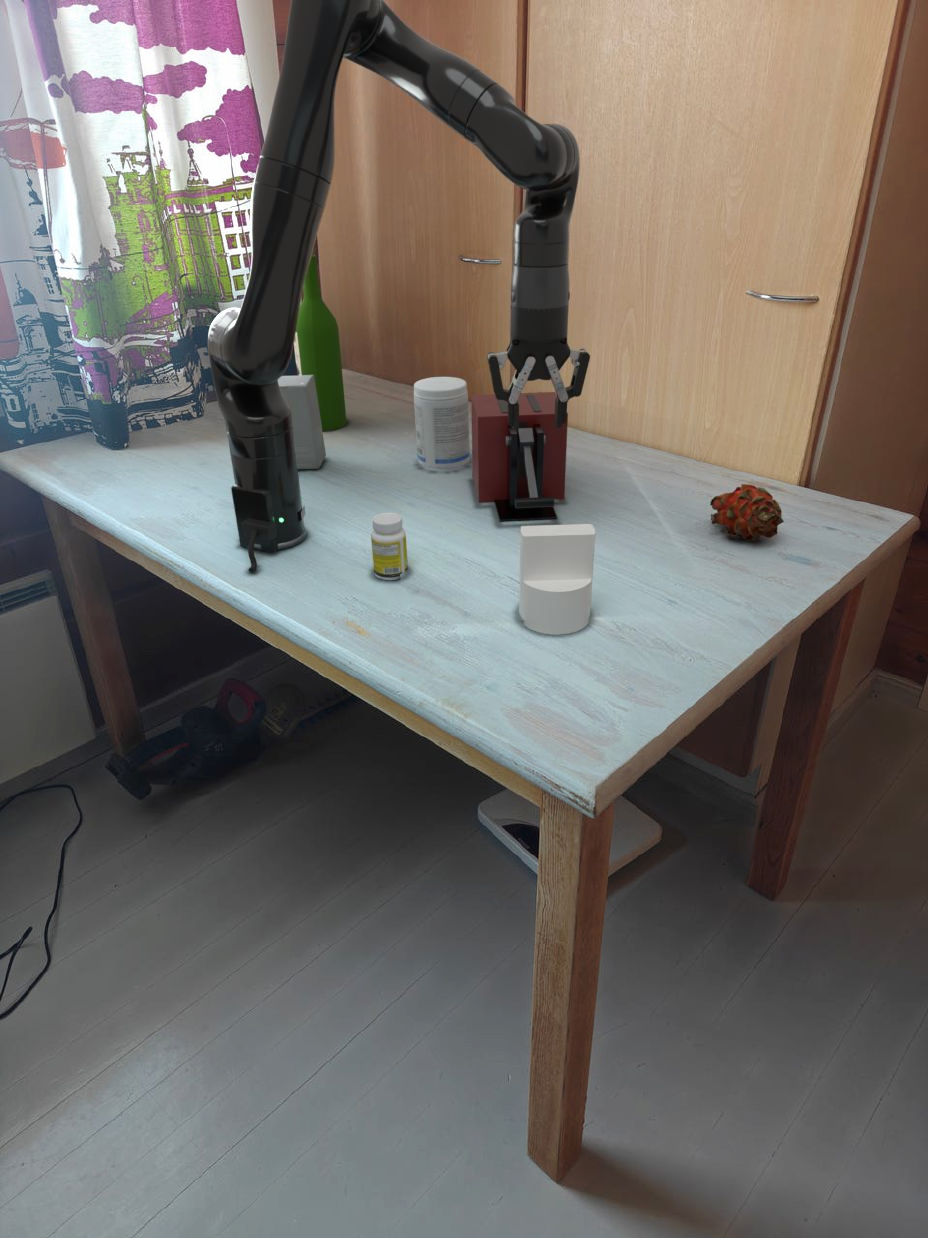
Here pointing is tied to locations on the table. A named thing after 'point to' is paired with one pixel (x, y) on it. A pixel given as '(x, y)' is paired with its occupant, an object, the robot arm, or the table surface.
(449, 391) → the supplement tub
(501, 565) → the table surface
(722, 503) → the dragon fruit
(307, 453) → the cosmetic box
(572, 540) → the cylinder with rectangular tab
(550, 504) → the lever
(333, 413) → the wine bottle
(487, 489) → the toaster
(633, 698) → the table surface
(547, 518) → the lever bracket
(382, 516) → the supplement bottle
